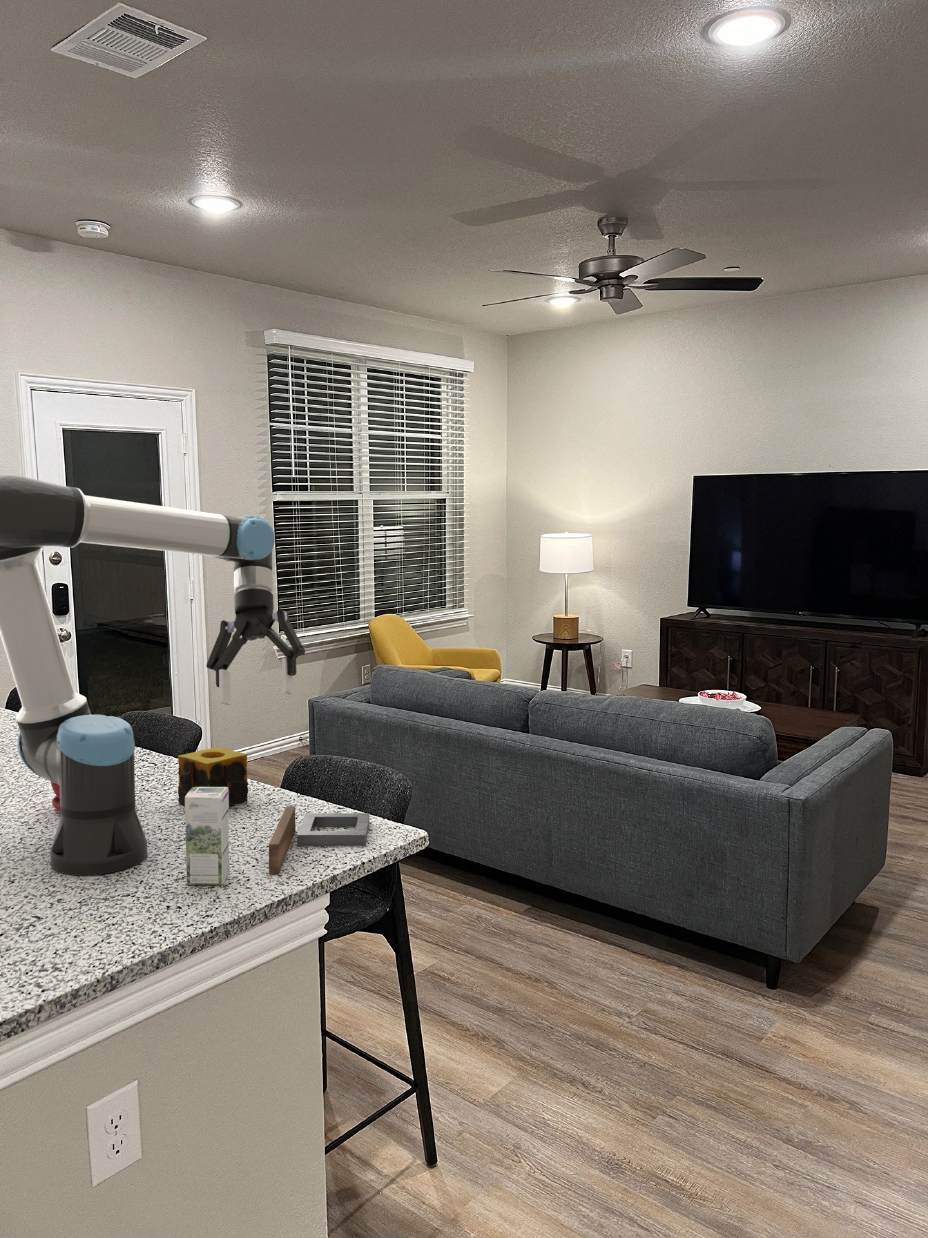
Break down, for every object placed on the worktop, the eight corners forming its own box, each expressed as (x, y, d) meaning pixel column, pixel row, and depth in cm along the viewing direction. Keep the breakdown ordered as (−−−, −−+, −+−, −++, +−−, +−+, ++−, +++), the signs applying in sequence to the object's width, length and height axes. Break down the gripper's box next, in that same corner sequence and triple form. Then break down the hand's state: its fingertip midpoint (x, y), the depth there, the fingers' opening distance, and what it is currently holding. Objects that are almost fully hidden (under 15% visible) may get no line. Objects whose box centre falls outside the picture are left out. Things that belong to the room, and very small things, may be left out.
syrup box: (230, 872, 152) (229, 785, 151) (222, 886, 146) (221, 796, 145) (195, 872, 152) (193, 785, 150) (185, 886, 146) (183, 796, 144)
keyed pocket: (297, 846, 165) (296, 835, 164) (305, 823, 176) (305, 813, 176) (365, 845, 165) (365, 834, 165) (369, 823, 177) (369, 813, 177)
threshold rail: (268, 874, 152) (268, 844, 151) (286, 832, 171) (286, 806, 171) (278, 874, 152) (278, 844, 151) (295, 832, 171) (295, 806, 171)
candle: (208, 814, 181) (207, 764, 180) (176, 804, 187) (175, 755, 186) (249, 802, 189) (249, 753, 188) (217, 793, 196) (217, 746, 194)
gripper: (319, 586, 185) (324, 691, 179) (209, 609, 192) (210, 711, 186) (301, 575, 178) (305, 684, 172) (188, 599, 185) (188, 704, 179)
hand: (256, 698), depth 179 cm, fingers open, 13 cm apart
